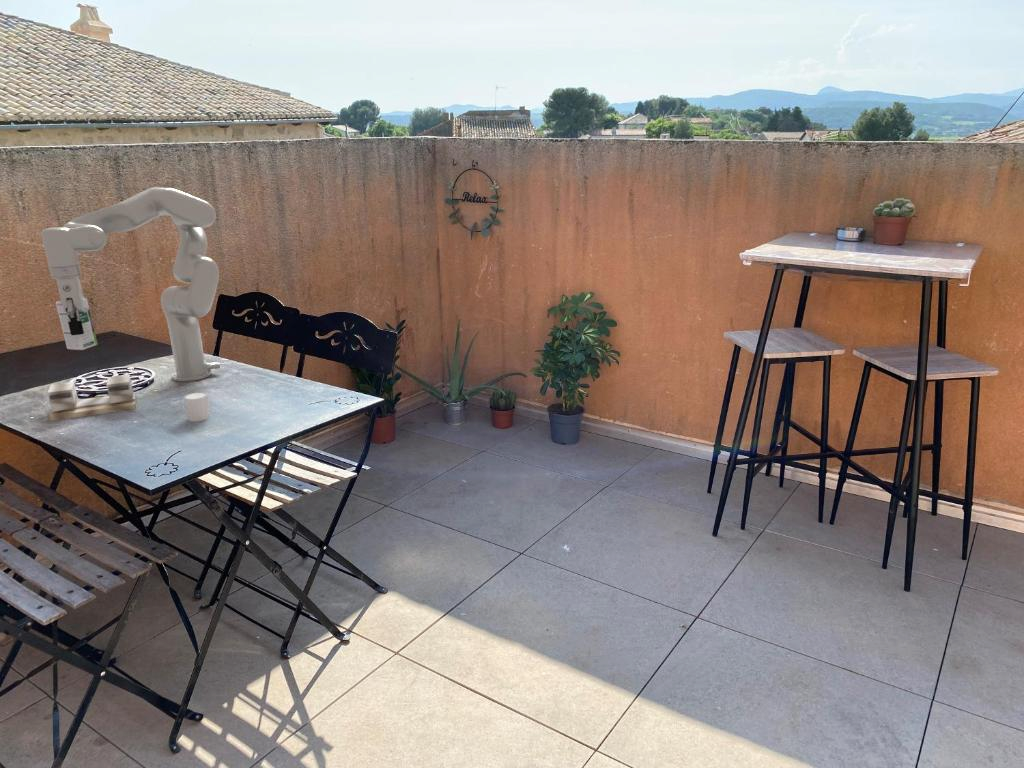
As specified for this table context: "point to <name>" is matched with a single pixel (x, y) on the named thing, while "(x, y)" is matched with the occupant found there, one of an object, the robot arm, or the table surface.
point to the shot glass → (197, 406)
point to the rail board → (91, 399)
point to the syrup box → (89, 334)
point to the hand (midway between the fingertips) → (78, 330)
